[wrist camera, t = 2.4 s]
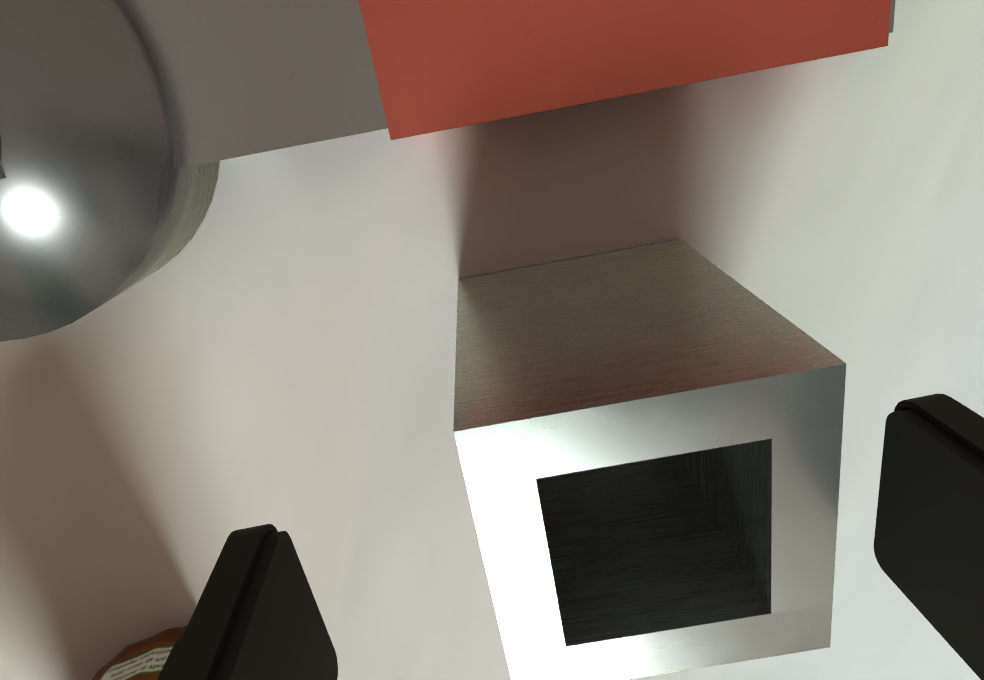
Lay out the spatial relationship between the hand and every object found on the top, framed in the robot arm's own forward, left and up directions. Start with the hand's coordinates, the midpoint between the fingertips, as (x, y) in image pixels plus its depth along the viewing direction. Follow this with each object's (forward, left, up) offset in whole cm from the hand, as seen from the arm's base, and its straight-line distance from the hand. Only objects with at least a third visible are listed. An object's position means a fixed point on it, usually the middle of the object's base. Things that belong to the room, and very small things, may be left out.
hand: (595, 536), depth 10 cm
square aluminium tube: (-1, 0, -7) cm, 7 cm away
